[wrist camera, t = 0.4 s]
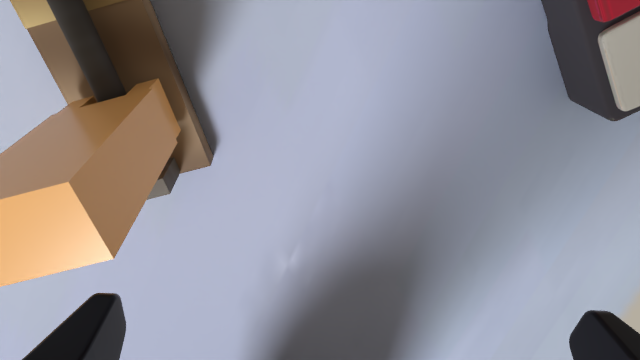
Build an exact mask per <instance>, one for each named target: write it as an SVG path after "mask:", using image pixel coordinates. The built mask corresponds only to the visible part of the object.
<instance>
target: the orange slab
mask: <svg viewBox="0 0 640 360" xmlns="http://www.w3.org/2000/svg"><path fill="white" fill-rule="evenodd" d="M180 131H181V129H180V127H179V125H178V122H177V120H176V118H175V115H174V113H173V111H172V108H171V106H170V104H169V101H168V99H167V97H166V95H165V92H164V90H163V88H162V85H161V83H160V81H159V78H157V79H154V80H150V81H146V82H143V83H139V84H136V85H135V86H134V87H133V88H132V89H131V90H130V91H129V92H128V93H127V94H126V95H124V96H120V97H117V98H113V99H109V100H106V101H102V102H98V103H97V101H96V100H95V98H94V96H91V97H88V98H84V99H80V100H77V101H73V102H71V103H70V104H69V105H67V106H66V107H65V108H63V109H62V110H61V111H60V112H58V113H57V114H54V115H51V116H50V117H49V118H47V119H46V120H45V121H43V122H42V123H41V124H39V125H38V126H37V127H36V128H34V129H33V130H32V131H30V132H29V133H28V134H26V135H25V136H24V137H22V138H21V139H20V140H18V141H17V142H16V143H14V144H13V145H12V146H10V147H9V148H8V149H6V150H5V151H4V152H2V153H1V154H0V287H1V286H5V285H9V284H13V283H17V282H22V281H26V280H30V279H34V278H38V277H42V276H46V275H50V274H54V273H58V272H62V271H66V270H70V269H75V268H79V267H83V266H87V265H91V264H95V263H99V262H103V261H107V260H111V259H114V258H115V256H116V254H117V252H118V250H119V249H120V247H121V245H122V243H123V241H124V239H125V238H126V236H127V234H128V232H129V230H130V229H131V227H132V225H133V223H134V221H135V219H136V218H137V216H138V214H139V212H140V210H141V208H142V207H143V205H144V203H145V201H146V199H147V198H148V196H149V194H150V192H151V190H152V188H153V187H154V185H155V183H156V181H157V179H158V177H159V176H160V174H161V172H162V170H163V168H164V167H165V165H166V163H167V161H168V159H169V157H170V156H171V154H172V152H173V150H174V148H175V147H176V145H177V140H176V138H177V136H178V134H179V133H180Z"/></svg>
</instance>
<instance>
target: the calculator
mask: <svg viewBox="0 0 640 360" xmlns="http://www.w3.org/2000/svg"><path fill="white" fill-rule="evenodd" d="M541 1H542V4H543V7H544V10H545V13H546V16H547V20H548V31H549V35H550V38H551V42H552V45H553V48H554V51H555V55H556V58H557V61H558V65H559V68H560V71H561V74H562V78H563V81H564V84H565V87H566V91H567V94H568V97H569V98H570V100H572V101H574V102H576V103H577V104H579V105H581V106H583V107H585V108H587V109H589V110H591V111H592V112H594V113H596V114H598V115H600V116H602V117H604V118H606V119H608V120H610V121H618V120H620V119H623V118H625V117H627V116H629V115H631V114H633V113H635V112H637V111H640V0H541Z"/></svg>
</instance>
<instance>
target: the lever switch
mask: <svg viewBox="0 0 640 360" xmlns="http://www.w3.org/2000/svg"><path fill="white" fill-rule="evenodd" d="M10 1H11V3H12V5H13V7H14V9H15V10H16V12H17V14H18V16H19V18H20V20H21V22H22V23H23V25H24V27H25V29H27V30H28V32H29V34H30V35H31V37H32V39H33V41H34V43H35V45H36V47H37V48H38V50H39V52H40V54H41V56H42V58H43V59H44V61H45V63H46V65H47V67H48V69H49V71H50V72H51V74H52V76H53V78H54V80H55V82H56V83H57V85H58V87H59V89H60V91H61V93H62V95H63V96H64V98H65V100H66V102H67V104H68V105H69V104H70V103H71V102H73V101H77V100H80V99H84V98H88V97H91V96H94V98H95V100H96V101H97V103H98V102H102V101H106V100H109V99H113V98H117V97H120V96H124V95H126V94H127V93H128V92H129V91H130V90H131V89H132V88H133V87H134V86H135V85H136V84H139V83H143V82H146V81H150V80H154V79H157V78H159V81H160V83H161V85H162V88H163V90H164V92H165V95H166V97H167V99H168V101H169V104H170V106H171V108H172V111H173V113H174V115H175V118H176V120H177V122H178V125H179V127H180V129H181V131H180V133H179V134H178V136H177V138H176V140H177V145H176V147H175V148H174V150H173V152H172V154H171V156H170V157H169V159H168V161H167V163H166V165H165V167H164V168H163V170H162V172H161V174H160V176H159V177H158V179H157V181H156V183H155V185H154V187H153V188H152V190H151V192H150V194H149V196H148V198H147V199H146V200H148V199H151V198H155V197H159V196H163V195H167V194H170V193H171V191H172V188H173V186H174V184H175V182H176V180H177V178H178V176H179V174H180V173H184V172H188V171H192V170H196V169H200V168H204V167H207V166H211V163H212V160H213V154H212V152H211V150H210V147H209V145H208V142H207V140H206V137H205V135H204V132H203V130H202V127H201V125H200V122H199V120H198V118H197V115H196V113H195V110H194V108H193V105H192V103H191V100H190V98H189V95H188V93H187V90H186V88H185V86H184V83H183V81H182V78H181V76H180V73H179V71H178V68H177V66H176V63H175V61H174V58H173V56H172V54H171V51H170V49H169V46H168V44H167V41H166V39H165V36H164V34H163V31H162V29H161V26H160V24H159V21H158V19H157V17H156V14H155V12H154V9H153V7H152V4H151V2H150V0H10Z"/></svg>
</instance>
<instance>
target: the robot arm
mask: <svg viewBox="0 0 640 360" xmlns="http://www.w3.org/2000/svg"><path fill="white" fill-rule="evenodd" d="M125 332H126V321H125V316H124V312H123V307H122V302H121V298H120V296H119V295H118V294H114V293H96V294H94V295H92V296H91V297H90V298H89V299H88V300H87V301H85V302H84V303H83V304H82V305H81V306H80V307H79V308H78V309H77V310H76V311H75V312H73V313H72V314H71V315H70V316H69V317H68V318H67V319H66V320H65V321H64V322H63V323H61V324H60V325H59V326H58V327H57V328H56V329H55V330H54V331H53V332H52V333H51V334H49V335H48V336H47V337H46V338H45V339H44V340H43V341H42V342H41V343H40V344H39V345H37V346H36V347H35V348H34V349H33V350H32V351H31V352H30V353H29V354H28V355H27V356H25V357H24V358H23V359H22V360H119V358H120V354H121V350H122V346H123V341H124V337H125ZM569 344H570V349H571V353H572V356H573V359H574V360H640V334H639V333H638V332H636V331H635V330H634V329H632V328H631V327H630V326H629V325H627V324H626V323H625V322H623V321H622V320H621V319H619V318H618V317H617V316H615V315H614V314H613V313H611V312H608V311H596V310H590V311H587V312H586V313H585V314H584V315H583V316H582V318H581V319H580V321H579V322H578V324H577V325H576V327H575V329H574V330H573V332H572V333H571V335H570V339H569Z"/></svg>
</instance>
